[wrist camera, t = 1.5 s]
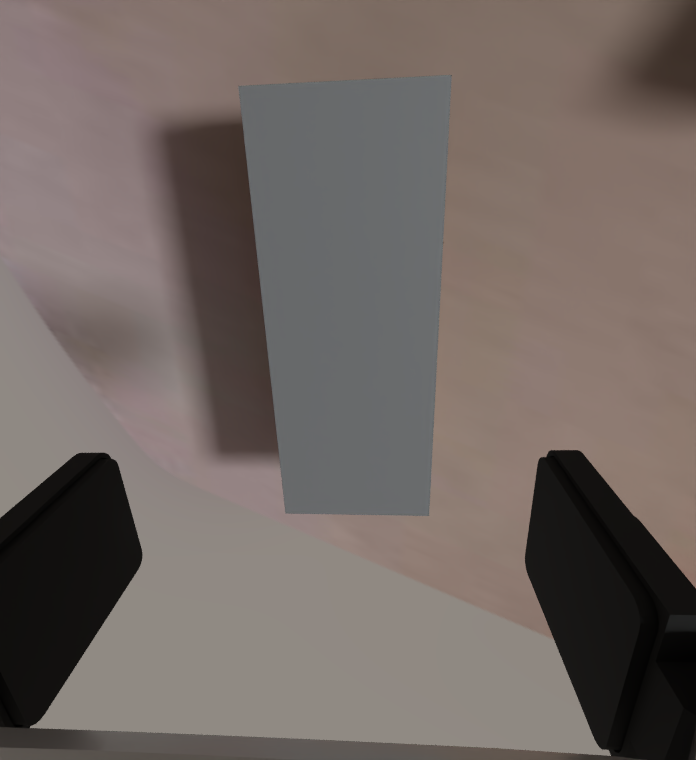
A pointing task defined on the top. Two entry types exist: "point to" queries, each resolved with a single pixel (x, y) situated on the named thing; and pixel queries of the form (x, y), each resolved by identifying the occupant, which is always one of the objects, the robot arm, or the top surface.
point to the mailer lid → (351, 283)
